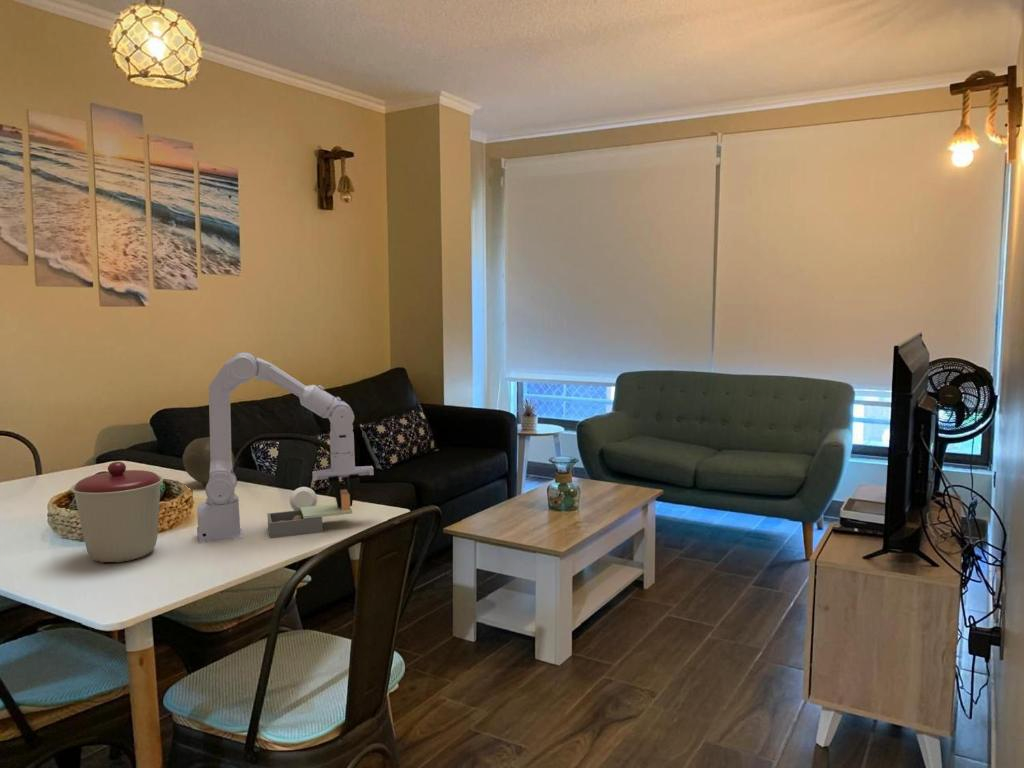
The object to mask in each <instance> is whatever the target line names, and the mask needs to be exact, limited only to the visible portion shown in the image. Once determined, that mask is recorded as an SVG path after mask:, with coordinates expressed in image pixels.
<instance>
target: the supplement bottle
mask: <svg viewBox="0 0 1024 768" xmlns="http://www.w3.org/2000/svg"><path fill="white" fill-rule="evenodd" d="M317 502H318V498H317V494H316V492H315V491H314V490H313V489H312V488H310V487H307V486H299V487H298V488H295V489H294V490H293V491H292V492H291V495H290V497H289V504H290V505H289V506H290V507H291V508H292V509H293V510H292V511H295V510H300V508H301V507H310V506H317Z"/></svg>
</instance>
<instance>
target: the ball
mask: <svg viewBox="0 0 1024 768" xmlns="http://www.w3.org/2000/svg"><path fill="white" fill-rule="evenodd" d="M298 519H304V518H303V516H301V515H297V516H295V517H294V518H293V520H298Z"/></svg>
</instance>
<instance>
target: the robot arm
mask: <svg viewBox="0 0 1024 768" xmlns="http://www.w3.org/2000/svg"><path fill="white" fill-rule="evenodd" d="M255 376H256V381H257V382H258V381H262V382H263V381H269V382H271V383H273V384H275V385H277V386H279V387H281V389H284V390H286V391H288V392H289V393H291V394H293V395H295V396H296V397H297V398H299V402H300V405H301V407H302V406H303V407H304V408H306V409H308V410H309V411H310V412H313V413H314V414H315V415H316V416H319V417H321V418H323V419H328V420H329V422H330V424H329V425H330V432H329V445H330V446H329V448H330V468H326V469H325V468H324V469H321V470H320V469H319V470H313V471H312V480H313V481H315V482H316V481H318V480H327V482H328V483H329V485H330V486H331V489H332V491H333V494H334V496H335V497H334V498H335V502H336V504H337V506H338V508H340V507H341V498H340V490H341V481H340V478H346V483H347V491H348V492H349V494H350V507H352V506H353V501H354V497H355V492H356V489H357V488H358V485H359V483H360V476H374V475H375V474H374V473H375V472H374V467H373V466H372V465H365V466H363V465H362V466H356V462H355V460H356V459H355V457H356V456H355V455H356V454H355V436H354V435H355V434H354V431H353V430H354V425H353V423H354V421H355V414H354V411H353V410H352V408H351V406H350V405H349V403H346V401H344V400H342V399H341V397H339V396H334V395H332V394H331V393H329V392H327V391H325V386H324V387H323V386H322V385H320V384H319V385H315V384H309V385H305V384H304V383H302V382H300V381H299V380H298V379H296V378H295V377H292V376H291V375H289V374H288V373H287V372H286V371H284V370H282V369H281V368H279V367H277V366H276V365H274V363H273V364H272V363H271V362H269V361H266V360H265V359H263V358H260V357H257V358H256V356H255V355H253V354H252V353H250V352H247V351H244V352H243V351H242V352H238V353H236V354H235V355H233V356H231V358H229V359H228V360H226V362H225V363H224V364H222V366H221V368H220V370H219V371H218V372H217V373H216V374H215V376H214V378H213V379H212V380H211V382H210V384H209V386H208V405H209V406H208V410H209V413H208V414H209V437H210V460H211V462H210V478H209V481H208V483H207V485H205V491H204V492H205V495H206V498H205V501H204V502H199V503H197V504H196V513H197V527H196V533H197V535H198V543H199V544H204V543H214V542H223V541H231V540H239V539H243V529H242V528H241V517H240V501H239V500H240V499H239V498H240V497H239V496H238V495H237V494H236V493H235V492H236V491H235V490H236V489H235V488H236V487H237V483H238V482H237V481H238V478H237V476H236V475H235V473H234V468H233V469H232V459H231V450H232V419H231V418H232V417H231V414H232V413H231V393H232V392H234V391H235V390H236V389H237V388H238V387H239V386H240V385H242V384H244V383H245V384H246V383H247V382H248V381H251V380H252V379H253V378H255Z"/></svg>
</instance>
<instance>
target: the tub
mask: <svg viewBox="0 0 1024 768" xmlns="http://www.w3.org/2000/svg"><path fill="white" fill-rule="evenodd" d="M297 515H301V516H302V513H301V510H287V511H277V512H269V513H267V516H266V517H267V530H268V533H269V534H268V535H269V539H274V538H283V537H290V536H302V535H307V534H308V535H309V534H317V533H318V534H319V533H323V531H324V530H323V517H316V518H307V519H298V520H293V518H294V517H295V516H297ZM281 520H284V521H281ZM279 521H280V522H279Z"/></svg>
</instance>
